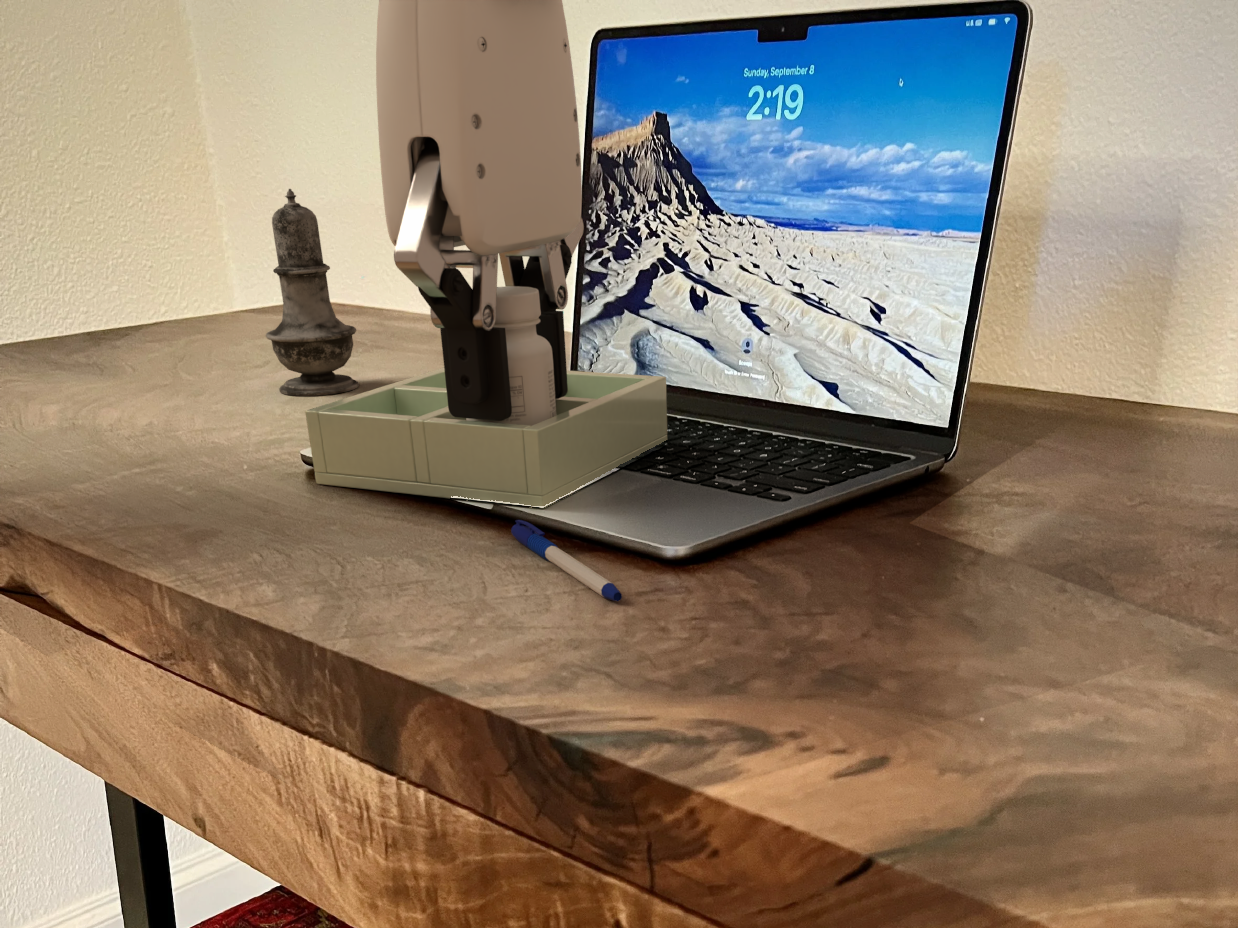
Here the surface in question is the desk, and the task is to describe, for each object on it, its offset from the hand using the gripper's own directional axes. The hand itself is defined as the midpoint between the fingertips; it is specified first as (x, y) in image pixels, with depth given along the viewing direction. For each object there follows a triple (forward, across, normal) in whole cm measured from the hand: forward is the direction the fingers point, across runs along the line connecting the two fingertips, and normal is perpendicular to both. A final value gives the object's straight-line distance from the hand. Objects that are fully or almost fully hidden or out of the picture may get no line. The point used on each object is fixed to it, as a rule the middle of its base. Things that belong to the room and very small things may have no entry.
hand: (509, 402), depth 65 cm
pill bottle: (+3, 0, 0) cm, 3 cm away
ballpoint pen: (+4, +11, +9) cm, 15 cm away
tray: (+4, -3, -3) cm, 6 cm away
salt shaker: (+4, -17, -26) cm, 32 cm away
